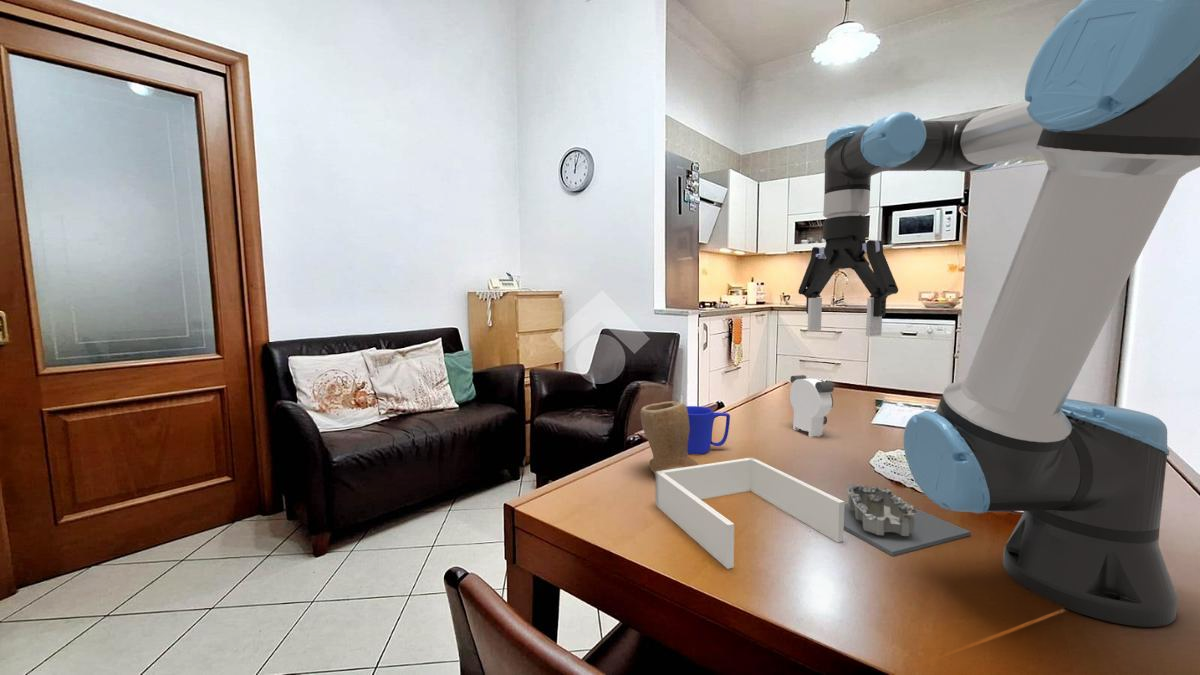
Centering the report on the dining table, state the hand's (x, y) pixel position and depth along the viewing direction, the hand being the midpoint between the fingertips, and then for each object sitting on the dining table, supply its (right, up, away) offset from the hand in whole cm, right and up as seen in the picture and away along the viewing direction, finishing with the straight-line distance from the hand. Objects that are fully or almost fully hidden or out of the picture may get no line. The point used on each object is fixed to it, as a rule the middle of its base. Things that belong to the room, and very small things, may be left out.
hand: (841, 333), depth 91 cm
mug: (-22, -28, +21) cm, 41 cm away
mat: (0, -30, -14) cm, 33 cm away
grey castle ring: (0, -30, -15) cm, 34 cm away
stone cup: (-31, -29, +6) cm, 43 cm away
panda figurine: (+8, -26, +33) cm, 43 cm away
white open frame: (-23, -30, -12) cm, 40 cm away
